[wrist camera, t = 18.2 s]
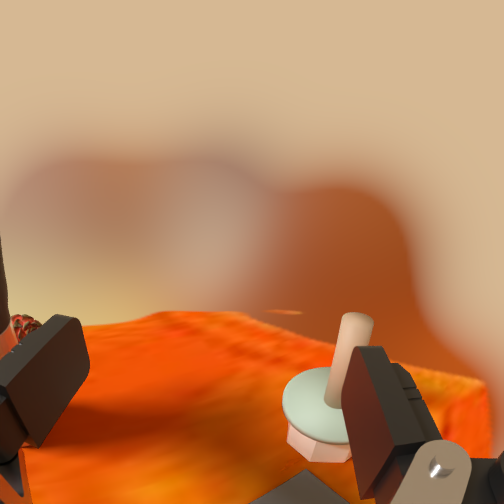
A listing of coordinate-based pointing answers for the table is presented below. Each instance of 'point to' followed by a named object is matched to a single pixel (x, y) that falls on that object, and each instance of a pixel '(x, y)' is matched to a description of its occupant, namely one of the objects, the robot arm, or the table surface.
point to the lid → (326, 387)
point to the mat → (301, 492)
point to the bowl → (317, 448)
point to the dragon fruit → (24, 325)
